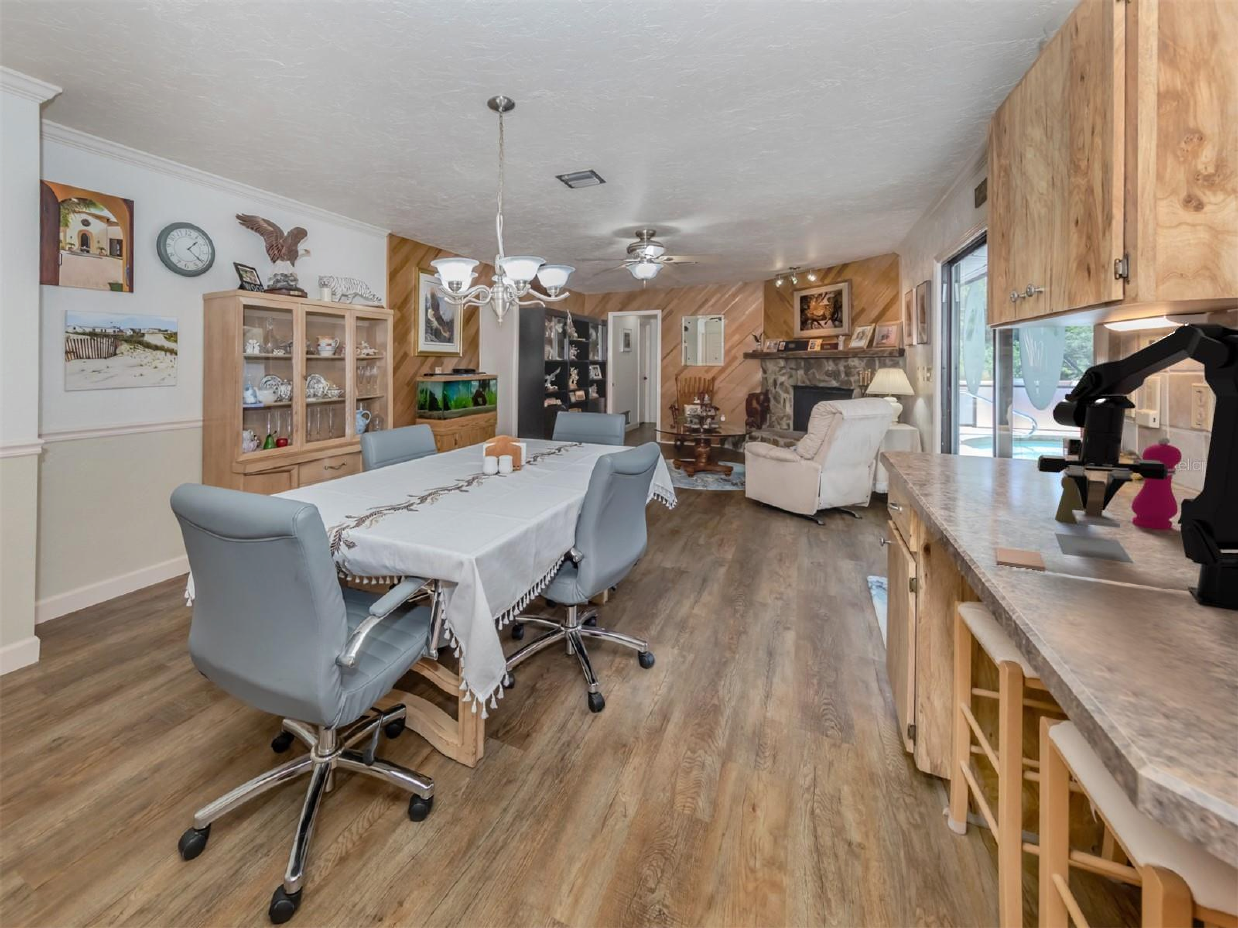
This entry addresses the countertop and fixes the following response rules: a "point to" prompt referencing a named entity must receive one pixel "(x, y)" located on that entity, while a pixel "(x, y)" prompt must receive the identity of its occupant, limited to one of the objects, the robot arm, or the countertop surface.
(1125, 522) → the countertop surface
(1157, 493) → the pepper mill
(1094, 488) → the brown post on base
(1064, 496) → the cork
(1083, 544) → the mat
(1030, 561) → the tile
